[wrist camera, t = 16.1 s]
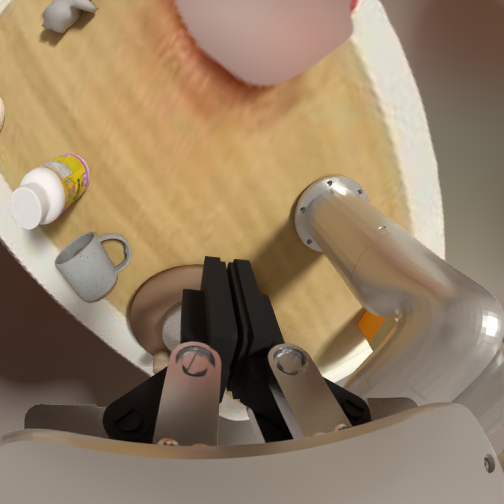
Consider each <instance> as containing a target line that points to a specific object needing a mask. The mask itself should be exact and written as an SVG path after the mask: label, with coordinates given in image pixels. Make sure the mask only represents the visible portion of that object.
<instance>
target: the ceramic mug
mask: <svg viewBox="0 0 504 504" xmlns="http://www.w3.org/2000/svg"><path fill="white" fill-rule="evenodd" d="M107 239H118V240H121V241H122V242H123V244H124V247H125V253H126V254H127V256H126V258H125V260H124V261H123V262H122V263H121V264H120V265H119V266H117V267H114V265H113V263H112V261H111V260H110V258H109V257H108V255H107V253H106V251H105V249H104V247H103V245H102V243H101V242H102V241H103V240H107ZM130 258H131V249H130V246H129V244H128V242H127V240H126V239H125V238H124V237H123V236H122V235H120V234H116V233H109V234H105V235H102V236H99V237H98V236H97V234H96V233H95V232H88V233H86V234H83V235H81V236H79V237H77V238H76V239H74V240H73V241H72V242H70V243H69V244H68V245H67V246H65V248H64V249H63V250H62V251H61V252H60V253H59V255H58V256H57V258H56V260H55V266H56V267H57V269H58V270H59V271H60V272H61V274H62V275H63V277H64V278H65V279H66V280H67V282H68V283H69V284H70V285H71V287H72V288H73V289H74V290H75V292H76V293H77V294H78V295H79V296H80V297H81V298H82V299H83V300H85V301H86V302H89V303H92V302H97V301H99V300H101V299H103V298H104V297H106V296H107V295H108V294H109V293H110V292H111V291H112V290H113V289H114V287H115V285H116V283H117V279H118V276H117V273H118V272H120V271H122V270H123V269H124V268H125V267H126V266H127V265H128V263H129V261H130Z"/></svg>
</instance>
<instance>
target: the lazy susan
mask: <svg viewBox="0 0 504 504" xmlns="http://www.w3.org/2000/svg"><path fill="white" fill-rule="evenodd" d="M203 266H204V265H199V264H196V265H185V266H179V267H175V268H171V269H168V270H166V271H163V272H161V273H159V274H157V275H155V276H154V277H152V278H151V279H150V280H148V281H147V282H146V283H145V284H144V285H143V286H142V287H141V288H140V289H139V291H138V293H137V294H136V296H135V298H134V301H133V304H132V308H131V313H130V323H131V328H132V331H133V334H134V335H135V337H136V339H137V341H138V342H139V343H140V345H141V346H142V347H143V348H144V349H145V350H146V351H148V352H149V353H150V354H152V355H153V356H154V362H153V373H154V374H156V373H158V372H159V371H161V370H162V369H164V368H165V367H167V366H168V364H169V359H170V355H171V353H172V351H170V350H169V349H168V348H167V347H166V345H165V343H164V341H163V338H162V331H163V321H164V316H165V314H166V312H167V311H168V309H169V308H170V307H171V306H173V305H174V304H176V303H178V302H180V301H182V293H183V289H194V290H200V287H201V280H202V273H203ZM226 270H227V269H226ZM259 293H260V292H259ZM260 294H261V293H260Z"/></svg>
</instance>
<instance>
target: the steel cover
mask: <svg viewBox="0 0 504 504" xmlns="http://www.w3.org/2000/svg"><path fill="white" fill-rule="evenodd" d="M181 305H182V301H180V302H178V303H176V304H174V305H173V306H171V307H170V308H169V309H168V311H167V312H166V314H165V316H164V321H163V331H162V338H163V341H164V343H165V345H166V347H167V348H168V349H169V350H170V351H173V350H174V349H175V348H176V347H177V346H178V345H180V324H181Z"/></svg>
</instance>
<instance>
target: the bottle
mask: <svg viewBox="0 0 504 504" xmlns="http://www.w3.org/2000/svg"><path fill="white" fill-rule="evenodd" d="M4 118H5V108H4V104H3V101H2V99H1V98H0V131H1V129H2V126H3V122H4Z"/></svg>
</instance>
